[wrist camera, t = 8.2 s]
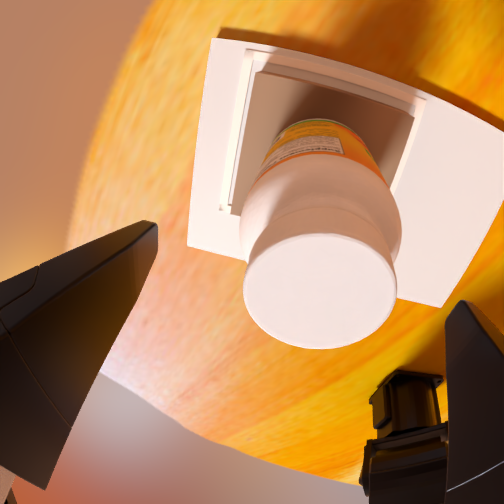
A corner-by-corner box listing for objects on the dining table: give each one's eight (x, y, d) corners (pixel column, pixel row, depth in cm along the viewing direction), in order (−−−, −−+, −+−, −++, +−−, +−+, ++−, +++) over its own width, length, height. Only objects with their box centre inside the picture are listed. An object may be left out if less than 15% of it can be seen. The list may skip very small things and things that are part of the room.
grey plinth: (404, 110, 15) (414, 117, 13) (361, 230, 19) (365, 248, 18) (261, 70, 15) (255, 72, 13) (237, 199, 20) (230, 214, 18)
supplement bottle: (376, 207, 16) (417, 353, 8) (280, 221, 18) (248, 368, 10) (361, 108, 14) (427, 185, 6) (253, 128, 15) (183, 225, 7)
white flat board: (519, 142, 14) (526, 146, 13) (438, 301, 22) (441, 308, 22) (216, 38, 15) (211, 37, 14) (190, 239, 23) (186, 246, 22)
